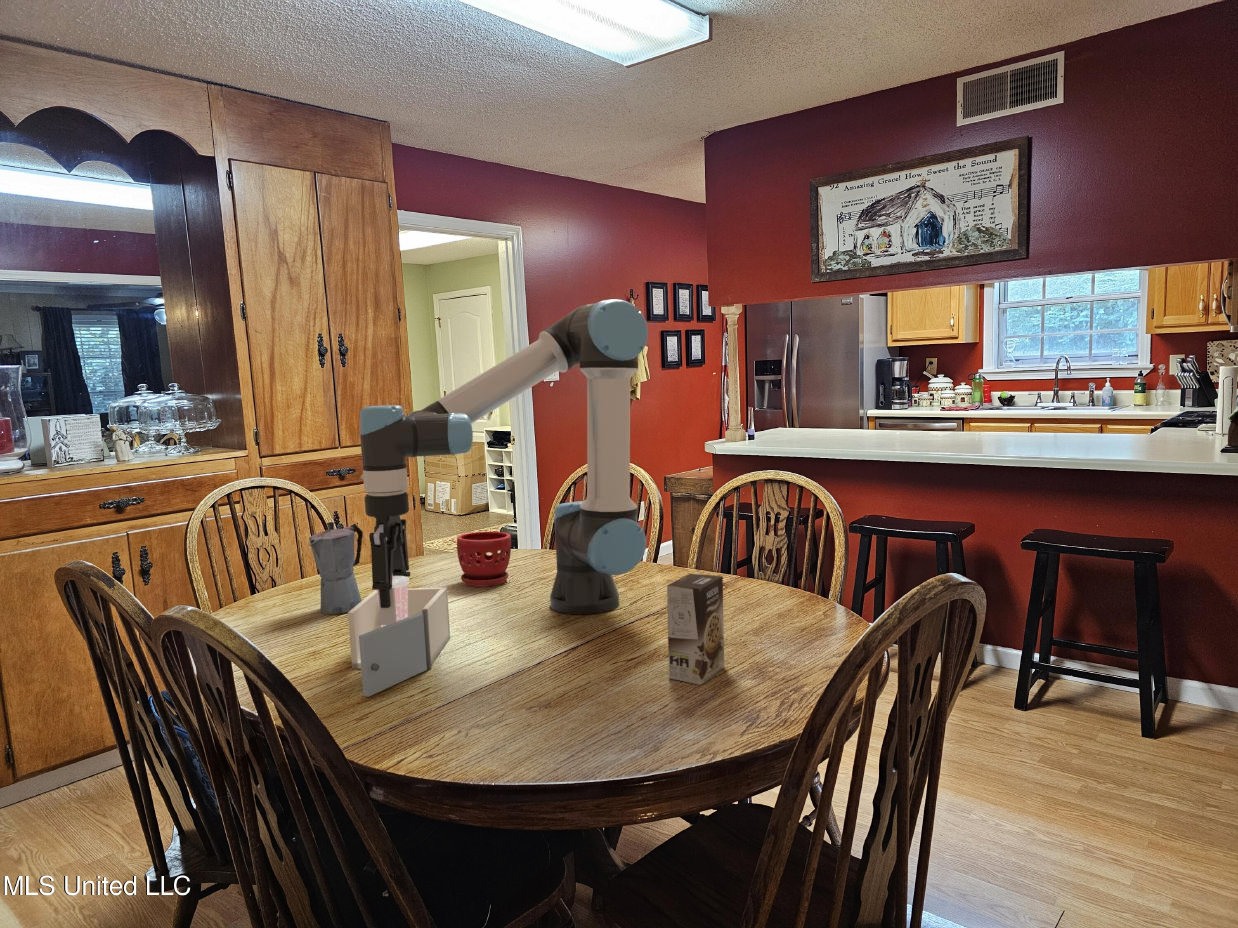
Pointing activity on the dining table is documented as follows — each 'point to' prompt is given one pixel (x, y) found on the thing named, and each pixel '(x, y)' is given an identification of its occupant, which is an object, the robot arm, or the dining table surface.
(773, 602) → the dining table surface
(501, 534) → the plant pot
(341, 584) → the moka pot
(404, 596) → the beverage cup
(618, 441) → the robot arm
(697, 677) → the coffee box
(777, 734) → the dining table surface
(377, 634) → the door
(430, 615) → the cubby
